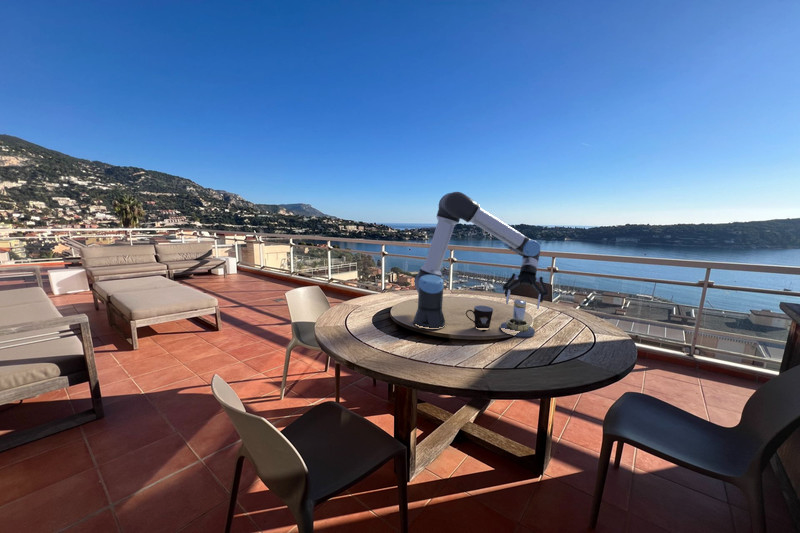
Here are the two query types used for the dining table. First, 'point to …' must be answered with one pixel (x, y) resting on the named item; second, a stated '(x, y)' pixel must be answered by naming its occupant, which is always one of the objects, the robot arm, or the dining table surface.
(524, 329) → the socket plate
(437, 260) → the robot arm
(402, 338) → the dining table surface
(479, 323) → the coffee mug
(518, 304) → the salt shaker
